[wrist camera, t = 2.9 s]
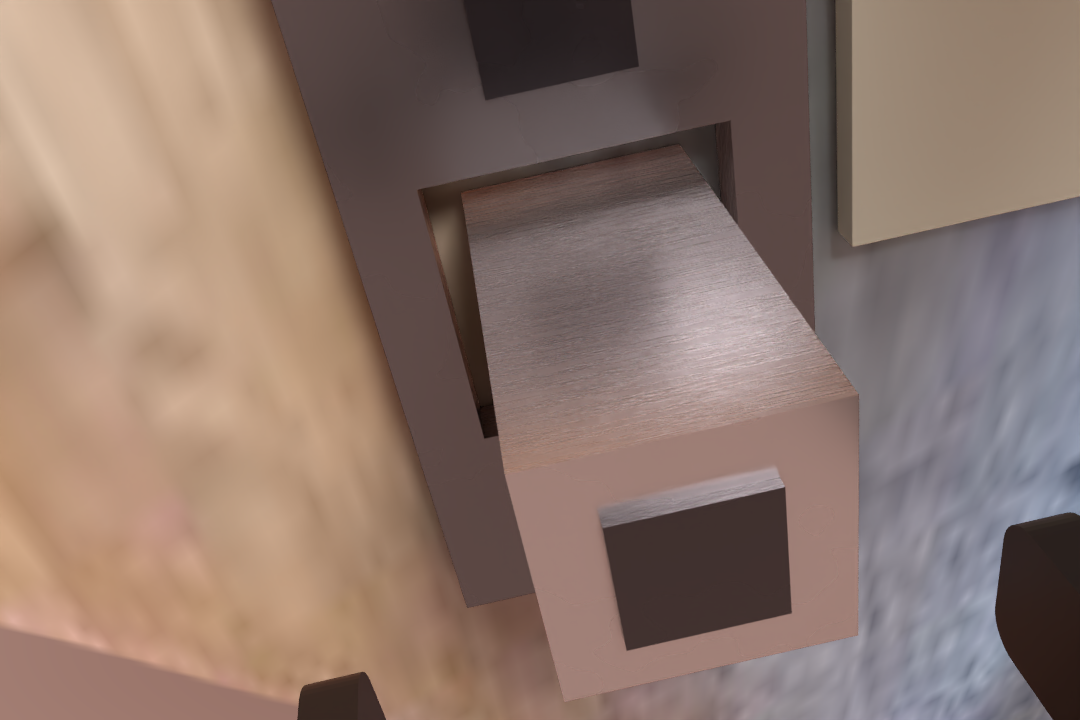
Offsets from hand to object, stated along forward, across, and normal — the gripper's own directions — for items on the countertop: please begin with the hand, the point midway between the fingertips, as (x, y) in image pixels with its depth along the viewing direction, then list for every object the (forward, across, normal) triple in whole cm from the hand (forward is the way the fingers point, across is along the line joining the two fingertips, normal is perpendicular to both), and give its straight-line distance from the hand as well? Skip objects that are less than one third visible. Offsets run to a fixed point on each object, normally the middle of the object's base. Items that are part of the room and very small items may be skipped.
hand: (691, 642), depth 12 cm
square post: (+10, -1, 0) cm, 10 cm away
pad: (+10, -10, -3) cm, 14 cm away
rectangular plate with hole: (+10, -1, 0) cm, 10 cm away
